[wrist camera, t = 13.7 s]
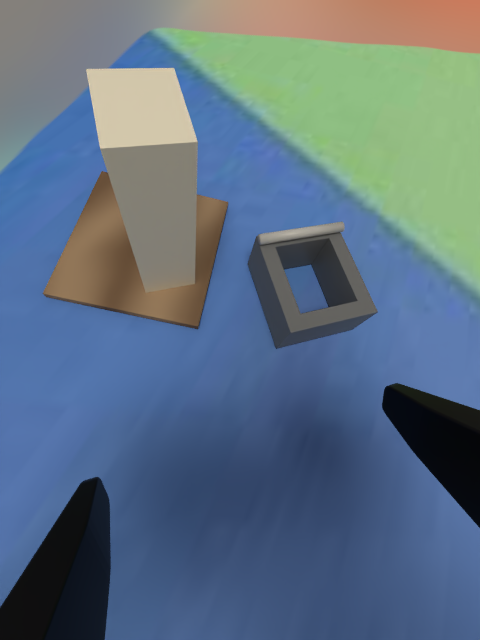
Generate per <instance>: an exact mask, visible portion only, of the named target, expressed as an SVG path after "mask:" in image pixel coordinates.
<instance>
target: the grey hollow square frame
mask: <svg viewBox="0 0 480 640" xmlns="http://www.w3.org/2000/svg"><path fill="white" fill-rule="evenodd" d="M343 231H344V223H343V222H337V223H330V224H324V225H317V226H311V227H304V228H297V229H291V230H284V231H278V232H271V233H264V234H259V235H258V236H256V239H255V242H254V245H253V248H252V252H251V255H250V258H249V261H248V267H249V270H250V272H251V275H252V278H253V281H254V284H255V287H256V290H257V293H258V296H259V299H260V302H261V305H262V308H263V311H264V314H265V317H266V320H267V323H268V326H269V329H270V332H271V335H272V338H273V341H274V344H275V347H276V349H277V348H281V347H285V346H289V345H293V344H297V343H301V342H305V341H309V340H313V339H317V338H321V337H325V336H329V335H333V334H337V333H341V332H345V331H349V330H352V329H354V328H355V327H357V326H358V325H360V324H361V323H362V322H364V321H365V320H367V319H368V318H370V317H371V316H373V315H374V314H376V313H377V312H378V311H377V309H376V307H375V305H374V303H373V301H372V299H371V296H370V294H369V292H368V290H367V288H366V286H365V284H364V282H363V279H362V277H361V275H360V273H359V271H358V269H357V267H356V265H355V262H354V260H353V258H352V256H351V254H350V252H349V250H348V247H347V245H346V243H345V241H344V239H343V237H342V235H341V233H340V232H343ZM310 264H312V267H313V269H314V272H315V274H316V276H317V279H318V281H319V284H320V286H321V288H322V291H323V293H324V296H325V298H326V301H327V303H328V305H329V308H324V309H320V310H315V311H311V312H307V313H302V314H300V311H299V308H298V306H297V303H296V301H295V298H294V295H293V293H292V290H291V287H290V285H289V282H288V279H287V277H286V274H285V271H284V269H288V268H294V267H299V266H305V265H310Z"/></svg>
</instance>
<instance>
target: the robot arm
mask: <svg viewBox="0 0 480 640" xmlns="http://www.w3.org/2000/svg"><path fill="white" fill-rule="evenodd" d="M382 408H383V410H384V412H385V414H386V415H387V417H388V418H389V419H390V421H391V422H392V424H393V425H394V426H395V428H396V429H397V430H398V432H399V433H400V434H401V436H402V437H403V439H404V440H405V441H406V443H407V444H408V445H409V447H410V448H411V449H412V451H413V452H414V453H415V454H416V456H417V457H418V458H419V459H420V460H421V461H422V463H423V464H424V465H425V466H426V467H427V468H428V469H429V471H430V472H431V473H432V474H433V475H434V476H435V477H436V479H437V480H438V481H439V482H440V483H441V484H442V485H443V487H444V488H445V489H446V490H447V491H448V492H449V493H450V495H451V496H452V497H453V498H454V499H455V500H456V501H457V503H458V504H459V505H460V506H461V507H462V508H463V509H464V511H465V512H466V513H467V514H468V515H469V516H470V517H471V519H472V520H473V521H474V522H475V523H476V524H477V525H478V527H479V528H480V410H477V409H474V408H471V407H468V406H465V405H462V404H459V403H456V402H453V401H450V400H447V399H444V398H441V397H438V396H435V395H432V394H429V393H426V392H423V391H420V390H417V389H414V388H411V387H408V386H405V385H402V384H398V383H395V384H392V385H389V386H386V387H385V389H384V395H383V402H382ZM110 569H111V556H110V504H109V498H108V495H107V492H106V490H105V488H104V485H103V483H102V481H101V479H100V478H99V477H94V478H91V479H88V480H85V481H83V482H82V483H81V484H80V485H79V487H78V488H77V490H76V491H75V493H74V494H73V496H72V497H71V499H70V501H69V502H68V504H67V505H66V507H65V508H64V510H63V511H62V513H61V514H60V516H59V518H58V519H57V521H56V522H55V524H54V525H53V527H52V528H51V530H50V531H49V533H48V535H47V536H46V538H45V539H44V541H43V542H42V544H41V545H40V547H39V548H38V550H37V552H36V553H35V555H34V556H33V558H32V559H31V561H30V562H29V564H28V565H27V567H26V569H25V570H24V572H23V573H22V575H21V576H20V578H19V579H18V581H17V582H16V584H15V586H14V587H13V589H12V590H11V592H10V593H9V595H8V596H7V598H6V599H5V601H4V603H3V604H2V606H1V607H0V640H105V630H106V618H107V607H108V596H109V584H110Z"/></svg>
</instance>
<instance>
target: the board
mask: <svg viewBox="0 0 480 640" xmlns="http://www.w3.org/2000/svg"><path fill="white" fill-rule="evenodd" d="M227 207H228V202H225V201H221V200H217V199H213V198H209V197H205V196H201V195H197V200H196V254H195V284H192V285H186V286H180V287H175V288H169V289H164V290H158V291H153V292H147V293H146V292H145V289H144V285H143V282H142V279H141V276H140V273H139V270H138V266H137V263H136V260H135V257H134V254H133V251H132V247H131V244H130V241H129V238H128V235H127V232H126V228H125V225H124V222H123V219H122V216H121V213H120V209H119V206H118V203H117V200H116V197H115V194H114V190H113V187H112V184H111V181H110V178H109V175H108V173H107V172H103V171H102V172H101V174H100V176H99V178H98V180H97V182H96V184H95V186H94V188H93V190H92V193H91V195H90V197H89V199H88V201H87V203H86V205H85V207H84V209H83V211H82V213H81V215H80V217H79V219H78V222H77V224H76V226H75V228H74V230H73V232H72V234H71V236H70V238H69V240H68V242H67V244H66V246H65V248H64V251H63V253H62V255H61V257H60V259H59V261H58V263H57V265H56V267H55V269H54V271H53V273H52V275H51V277H50V280H49V282H48V284H47V286H46V288H45V290H44V292H43V294H44V295H45V296H46V297H49V298H53V299H58V300H63V301H68V302H72V303H77V304H82V305H86V306H91V307H96V308H101V309H105V310H110V311H115V312H120V313H124V314H129V315H134V316H138V317H143V318H148V319H153V320H157V321H162V322H167V323H172V324H176V325H181V326H186V327H190V328H195V329H198V327H199V323H200V319H201V315H202V310H203V306H204V302H205V298H206V294H207V290H208V286H209V281H210V277H211V273H212V269H213V265H214V261H215V257H216V252H217V248H218V244H219V240H220V236H221V232H222V227H223V223H224V219H225V215H226V211H227Z"/></svg>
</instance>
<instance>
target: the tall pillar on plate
mask: <svg viewBox="0 0 480 640" xmlns="http://www.w3.org/2000/svg"><path fill="white" fill-rule="evenodd" d="M86 71H87V76H88V82H89V88H90V93H91V99H92V105H93V110H94V116H95V122H96V127H97V133H98V139H99V144H100V149H101V153H102V156H103V159H104V162H105V165H106V168H107V171H108V175H109V178H110V181H111V184H112V187H113V190H114V194H115V197H116V200H117V203H118V206H119V209H120V213H121V216H122V219H123V222H124V225H125V228H126V232H127V235H128V238H129V241H130V244H131V247H132V251H133V254H134V257H135V260H136V263H137V266H138V270H139V273H140V276H141V279H142V282H143V285H144V289H145V292H146V293H147V292H153V291H158V290H164V289H169V288H175V287H180V286H186V285H192V284H195V254H196V200H197V146H198V142H197V139H196V135H195V132H194V129H193V126H192V123H191V120H190V117H189V114H188V110H187V107H186V104H185V101H184V98H183V95H182V92H181V89H180V86H179V82H178V79H177V76H176V73H175V70H174V68H135V69H86Z"/></svg>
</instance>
